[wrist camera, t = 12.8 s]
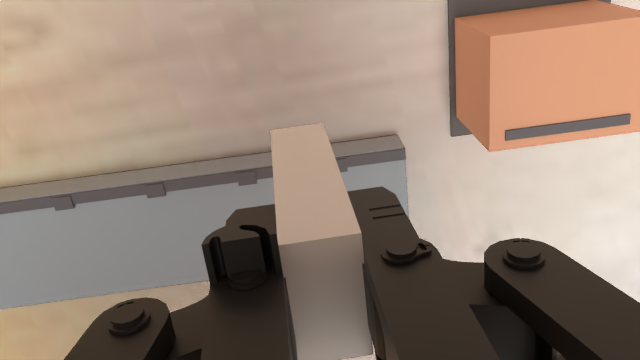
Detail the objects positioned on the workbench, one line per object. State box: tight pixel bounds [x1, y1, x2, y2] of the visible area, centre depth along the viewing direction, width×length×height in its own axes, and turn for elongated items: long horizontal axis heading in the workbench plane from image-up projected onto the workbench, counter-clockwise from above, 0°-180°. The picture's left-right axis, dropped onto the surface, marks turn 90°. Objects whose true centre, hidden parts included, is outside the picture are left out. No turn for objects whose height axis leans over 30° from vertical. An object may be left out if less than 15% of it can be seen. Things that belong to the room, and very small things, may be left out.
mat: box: [448, 0, 611, 137], centre depth 25 cm, size 7×6×1 cm
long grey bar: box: [0, 135, 409, 309], centre depth 27 cm, size 22×5×2 cm, turn 97°
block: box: [455, 0, 640, 152], centre depth 23 cm, size 6×4×4 cm
